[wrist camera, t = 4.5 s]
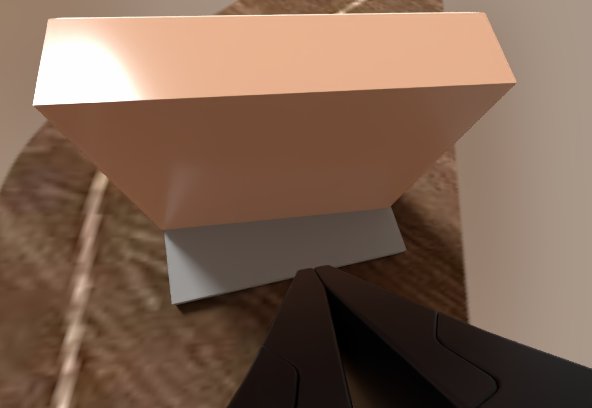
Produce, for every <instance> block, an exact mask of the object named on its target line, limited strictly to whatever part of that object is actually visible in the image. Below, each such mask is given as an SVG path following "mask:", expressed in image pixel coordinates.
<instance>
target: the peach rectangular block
mask: <svg viewBox="0 0 592 408" xmlns="http://www.w3.org/2000/svg"><path fill="white" fill-rule="evenodd" d="M515 84H516V80H515V78H514V75H513V73H512V71H511V69H510V67H509V64H508V62H507V60H506V58H505V56H504V54H503V51H502V49H501V47H500V45H499V43H498V40H497V38H496V36H495V34H494V32H493V29H492V27H491V25H490V23H489V21H488V19H487V16H486V14H485V13H478V12H442V13H372V14H303V15H233V16H165V17H100V18H99V17H94V18H57V19H48V25H47V30H46V36H45V41H44V47H43V53H42V58H41V63H40V69H39V75H38V81H37V86H36V91H35V97H34V102H33V106H34V107H35V108H36V109H38V111H40V112H41V113H42V114H43V115H44V116H45V117H46V118H47V119H48V120H49V121H50V122H51V123H52V124H53V125H54V126H55V127H56V128H57V129H58V130H59V131H60V132H61V133H62V134H63V135H64V136H65V137H66V138H67V139H68V140H69V141H70V142H71V143H73V144H74V145H75V146H76V147H77V148H78V149H79V150H80V151H81V152H82V153H83V154H84V155H85V156H86V157H87V158H88V159H89V160H90V161H91V162H92V163H93V164H94V165H95V166H96V167H97V168H98V169H99V170H100V171H101V172H102V173H103V174H104V175H106V176H107V177H108V178H109V179H110V180H111V181H112V182H113V183H114V184H115V185H116V186H117V187H118V188H119V189H120V190H121V191H122V192H123V193H124V194H125V195H126V196H127V197H128V198H129V199H130V200H131V201H132V202H133V203H134V204H135V205H136V206H137V207H139V208H140V209H141V210H142V211H143V212H144V213H145V214H146V215H147V216H148V217H149V218H150V219H151V220H152V221H153V222H154V223H155V224H156V225H157V226H158V227H159V228H160V229H161V230H169V229H179V228H189V227H200V226H210V225H220V224H231V223H241V222H251V221H262V220H272V219H282V218H292V217H303V216H313V215H323V214H334V213H344V212H354V211H364V210H375V209H385V208H389V207H390V206H391V205H392V204H393V203H394V202H395V201H396V200H397V199H398V198H399V197H400V196H401V195H402V194H403V193H404V192H405V191H407V190H408V189H409V188H410V187H411V186H412V185H413V184H414V183H415V182H416V181H417V180H418V179H419V178H420V177H421V176H422V175H423V174H424V173H425V172H426V171H427V170H428V169H429V168H430V167H431V166H432V165H433V164H434V163H435V162H436V161H437V160H438V159H439V158H440V157H441V156H442V155H443V154H444V153H445V152H446V151H447V150H448V149H449V148H451V147H452V146H453V145H454V144H455V143H456V142H457V141H458V139H460V138H461V137H462V136H463V135H464V134H465V133H466V132H467V131H468V130H469V129H470V128H471V127H472V126H473V125H474V124H475V123H476V122H477V121H478V120H479V119H480V118H481V117H482V116H483V115H484V114H485V113H486V112H487V111H488V110H489V109H490V108H491V107H492V106H493V105H494V104H495V103H497V101H499V100H500V99H501V98H502V96H504V95H505V94H506V93H507V92H508V91H509V90H510V89H511V88H512V87H513V86H514V85H515Z"/></svg>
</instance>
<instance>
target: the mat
mask: <svg viewBox="0 0 592 408" xmlns="http://www.w3.org/2000/svg"><path fill="white" fill-rule="evenodd" d="M164 234H165V244H166V253H167V262H168V272H169V281H170V291H171V300H172V304H173V305H178V304H183V303H187V302H191V301H196V300H200V299H204V298H208V297H213V296H217V295H221V294H226V293H230V292H234V291H239V290H243V289H247V288H252V287H256V286H260V285H264V284H269V283H273V282H277V281H282V280H286V279H290V278H294V277H295V275H296V272H297V271H298V270H301V269H307V268H313V269H314V268H315V267H318V266H324V265H330V266H333V267H335V268H338V267H342V266H346V265H351V264H355V263H359V262H364V261H368V260H372V259H376V258H381V257H385V256H389V255H394V254H398V253H402V252H404V251H405V250H406V247H405V244H404V242H403V239H402V236H401V233H400V230H399V228H398V225H397V222H396V219H395V217H394V214H393V211H392V208H391V206H390V207H389V208H385V209H375V210H364V211H354V212H344V213H334V214H323V215H313V216H303V217H292V218H282V219H272V220H262V221H251V222H241V223H231V224H220V225H210V226H200V227H189V228H179V229H169V230H164Z"/></svg>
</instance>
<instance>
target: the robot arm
mask: <svg viewBox="0 0 592 408" xmlns="http://www.w3.org/2000/svg"><path fill="white" fill-rule="evenodd" d="M351 400H352V401H351ZM352 402H353V405H354V407H355V408H592V369H591V368H588V367H586V366H583V365H580V364H577V363H574V362H571V361H569V360H566V359H563V358H560V357H557V356H554V355H552V354H549V353H546V352H543V351H540V350H537V349H534V348H532V347H529V346H526V345H523V344H520V343H517V342H515V341H512V340H509V339H506V338H503V337H501V336H498V335H496V334H492V333H490V332H487V331H485V330H482V329H479V328H477V327H475V326H472V325H470V324H467V323H465V322H463V321H460V320H458V319H455V318H453V317H451V316H448V315H446V314H444V313H441V312H439V313H437V311H435V310H433V309H430V308H428V307H426V306H423V305H421V304H419V303H416V302H414V301H412V300H409V299H407V298H405V297H403V296H400V295H398V294H396V293H393V292H391V291H389V290H386V289H384V288H382V287H379V286H377V285H375V284H372V283H370V282H368V281H365V280H363V279H361V278H358V277H356V276H354V275H351V274H349V273H347V272H344V271H342V270H340V269H337V268H335V267H333V266H330V265H324V266H318V267H315V268H314V269H313V268H307V269H301V270H298V271H297V272H296V275H295V277H294V279H293V281H292V283H291V285H290V287H289V289H288V291H287V293H286V296H285V298H284V300H283V302H282V304H281V306H280V308H279V310H278V312H277V314H276V316H275V319H274V321H273V323H272V325H271V327H270V329H269V331H268V333H267V335H266V337H265V340H264V342H263V344H262V346H261V348H260V349H259V351H258V353H257V355H256V357H255V359H254V361H253V363H252V365H251V367H250V369H249V371H248V373H247V375H246V376H245V378H244V380H243V382H242V384H241V385H240V387H239V388H238V390H237V392H236V393H235V395H234V396H233V398H232V400H231V401H230V403H229V404H228V406H227V408H353V405H352Z"/></svg>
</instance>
